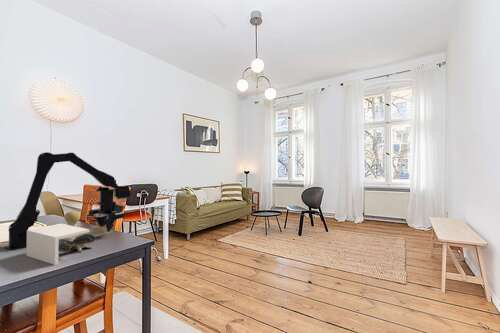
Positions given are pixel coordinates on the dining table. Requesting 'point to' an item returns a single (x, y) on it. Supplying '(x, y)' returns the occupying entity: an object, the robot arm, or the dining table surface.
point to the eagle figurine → (79, 242)
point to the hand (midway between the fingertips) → (106, 231)
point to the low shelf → (49, 241)
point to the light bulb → (72, 218)
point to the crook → (93, 232)
